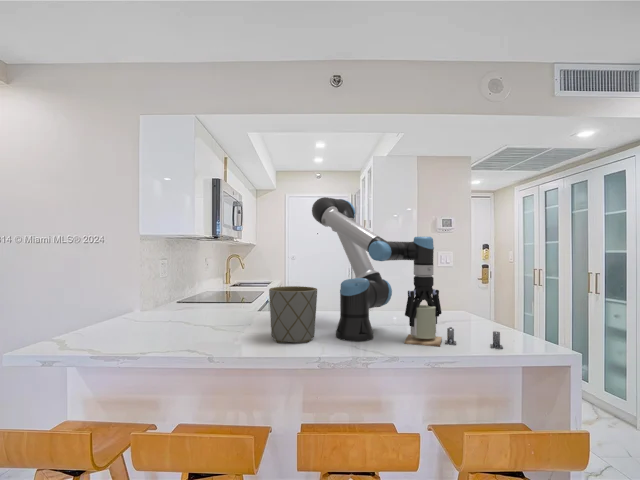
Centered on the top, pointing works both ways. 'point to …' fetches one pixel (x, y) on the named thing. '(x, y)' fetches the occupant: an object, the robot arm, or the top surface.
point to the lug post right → (496, 341)
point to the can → (425, 322)
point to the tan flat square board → (423, 341)
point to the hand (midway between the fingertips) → (423, 333)
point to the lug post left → (450, 336)
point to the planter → (293, 313)
